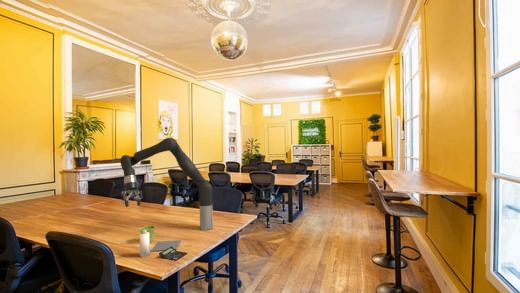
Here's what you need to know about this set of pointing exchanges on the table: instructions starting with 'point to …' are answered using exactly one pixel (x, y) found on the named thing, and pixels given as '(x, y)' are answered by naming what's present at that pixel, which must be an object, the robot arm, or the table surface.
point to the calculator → (172, 254)
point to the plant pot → (150, 230)
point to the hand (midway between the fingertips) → (133, 206)
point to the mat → (165, 245)
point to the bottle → (144, 244)
